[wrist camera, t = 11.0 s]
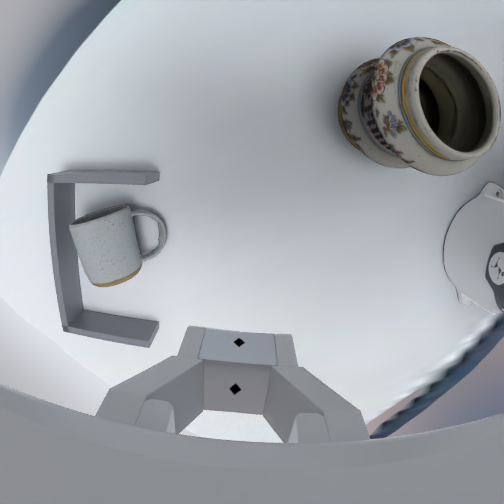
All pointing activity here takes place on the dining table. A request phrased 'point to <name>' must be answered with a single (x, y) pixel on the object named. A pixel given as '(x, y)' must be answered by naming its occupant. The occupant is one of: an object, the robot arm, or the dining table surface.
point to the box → (67, 262)
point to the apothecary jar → (421, 108)
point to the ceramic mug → (111, 244)
